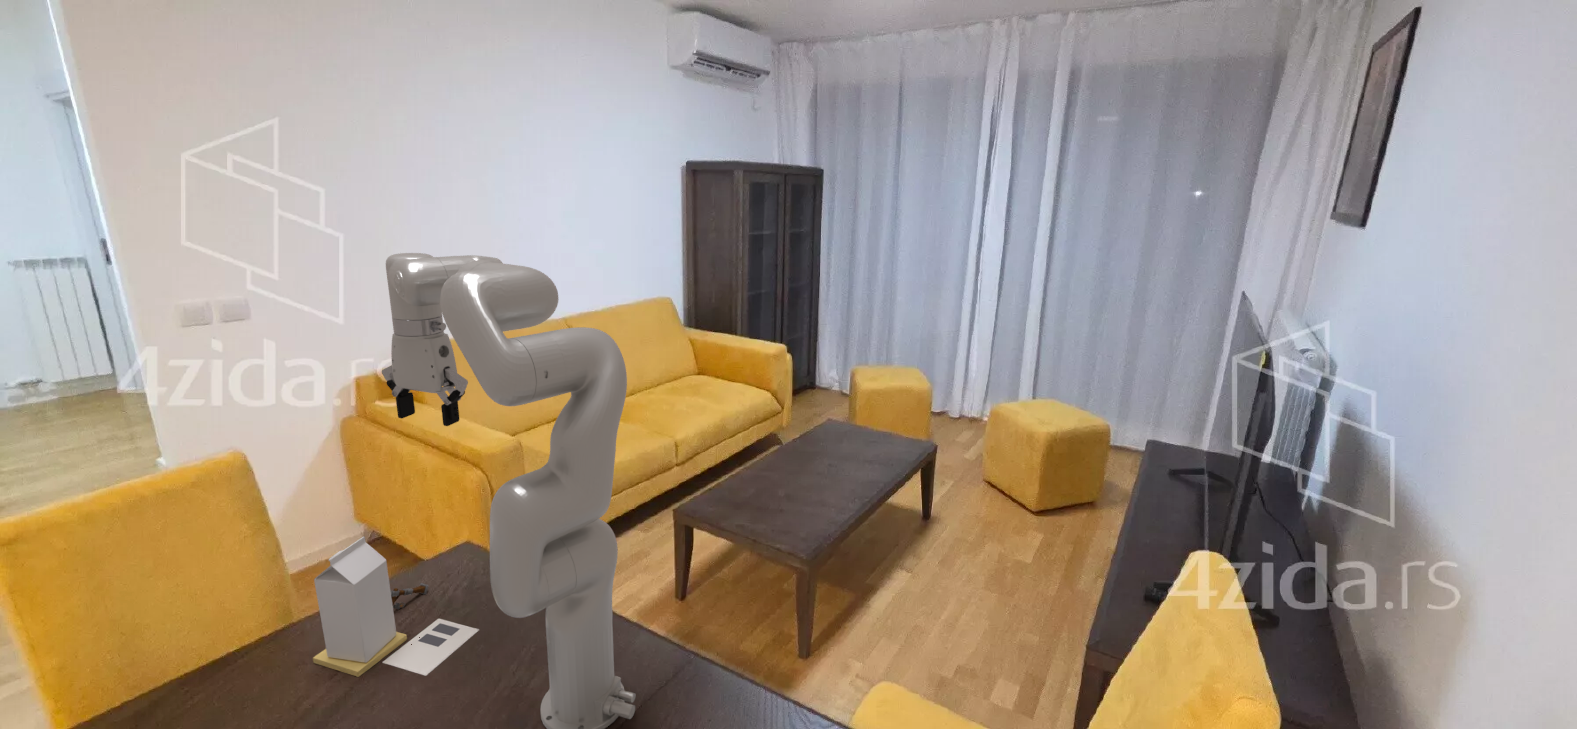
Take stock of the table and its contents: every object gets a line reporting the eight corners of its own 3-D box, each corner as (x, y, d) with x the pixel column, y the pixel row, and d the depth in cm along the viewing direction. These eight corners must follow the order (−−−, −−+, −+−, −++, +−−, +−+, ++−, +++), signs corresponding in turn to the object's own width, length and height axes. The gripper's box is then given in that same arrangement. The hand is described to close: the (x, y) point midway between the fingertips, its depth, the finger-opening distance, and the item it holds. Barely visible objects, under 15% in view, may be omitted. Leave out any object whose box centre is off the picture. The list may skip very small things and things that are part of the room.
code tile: (479, 630, 117) (479, 629, 117) (426, 677, 106) (425, 675, 106) (438, 619, 120) (438, 618, 120) (382, 663, 109) (382, 662, 109)
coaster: (407, 639, 114) (406, 634, 114) (358, 676, 105) (357, 671, 105) (364, 627, 117) (363, 622, 116) (313, 662, 108) (312, 657, 108)
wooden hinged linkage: (379, 613, 119) (386, 588, 120) (416, 605, 127) (421, 581, 127) (387, 615, 119) (393, 590, 119) (423, 607, 126) (428, 584, 127)
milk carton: (397, 635, 114) (383, 538, 108) (366, 664, 107) (350, 562, 102) (360, 630, 114) (344, 533, 109) (327, 658, 108) (309, 557, 102)
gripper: (476, 327, 113) (484, 419, 118) (395, 317, 117) (406, 406, 122) (443, 336, 106) (453, 434, 111) (359, 325, 110) (372, 420, 115)
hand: (429, 419), depth 116 cm, fingers open, 9 cm apart
